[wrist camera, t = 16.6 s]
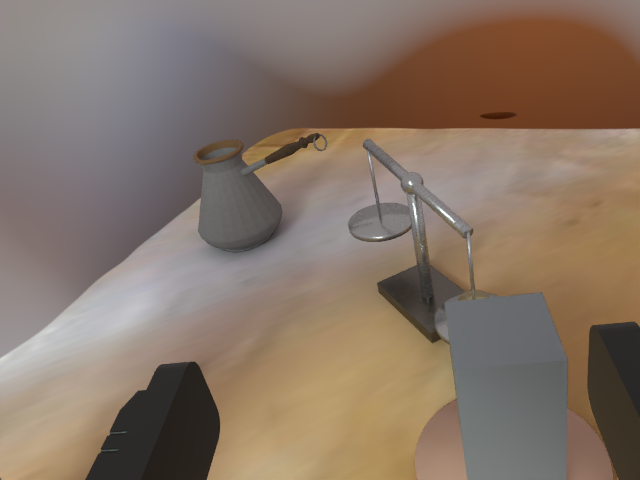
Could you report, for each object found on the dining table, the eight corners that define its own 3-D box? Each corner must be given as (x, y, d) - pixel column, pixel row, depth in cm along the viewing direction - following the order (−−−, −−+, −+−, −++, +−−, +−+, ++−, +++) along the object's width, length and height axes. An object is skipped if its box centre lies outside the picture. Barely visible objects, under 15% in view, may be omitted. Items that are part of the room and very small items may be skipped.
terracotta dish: (383, 447, 44) (382, 439, 43) (518, 374, 47) (518, 365, 47) (495, 603, 33) (494, 593, 33) (659, 493, 37) (661, 483, 36)
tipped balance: (348, 268, 66) (320, 141, 58) (400, 245, 68) (379, 119, 60) (470, 386, 47) (453, 224, 39) (537, 350, 49) (533, 188, 41)
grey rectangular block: (470, 501, 38) (453, 369, 32) (460, 427, 43) (444, 302, 37) (565, 497, 37) (567, 360, 31) (543, 422, 42) (541, 292, 36)
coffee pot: (188, 255, 77) (147, 153, 69) (237, 212, 85) (206, 116, 77) (324, 275, 66) (295, 156, 58) (366, 223, 74) (344, 113, 66)
